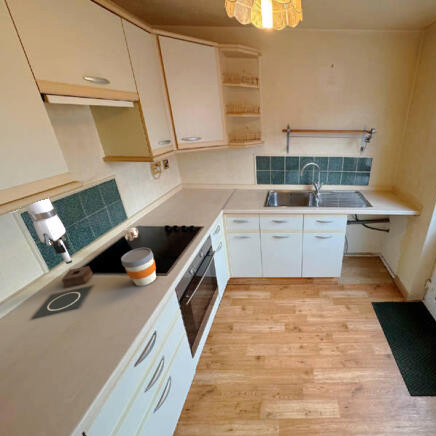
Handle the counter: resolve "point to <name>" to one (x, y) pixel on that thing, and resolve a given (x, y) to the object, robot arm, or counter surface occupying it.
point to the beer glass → (133, 238)
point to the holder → (77, 276)
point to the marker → (65, 254)
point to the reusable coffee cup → (140, 265)
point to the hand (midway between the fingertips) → (63, 250)
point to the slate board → (63, 302)
